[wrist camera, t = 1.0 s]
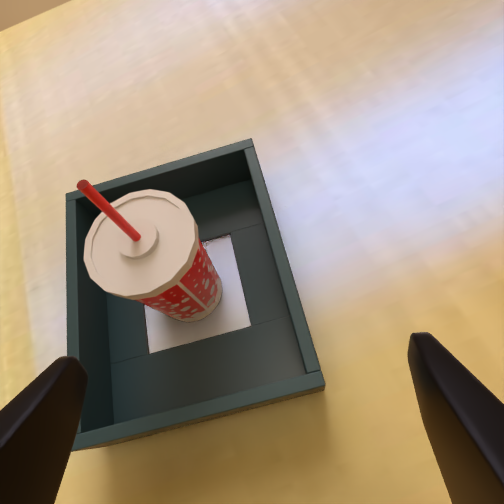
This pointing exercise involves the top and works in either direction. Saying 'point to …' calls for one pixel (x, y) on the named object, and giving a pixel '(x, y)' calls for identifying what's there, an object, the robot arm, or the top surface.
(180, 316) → the beverage cup
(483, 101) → the top surface
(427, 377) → the robot arm
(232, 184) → the crate
